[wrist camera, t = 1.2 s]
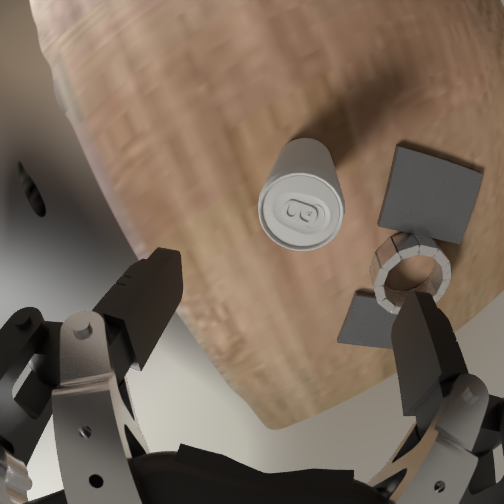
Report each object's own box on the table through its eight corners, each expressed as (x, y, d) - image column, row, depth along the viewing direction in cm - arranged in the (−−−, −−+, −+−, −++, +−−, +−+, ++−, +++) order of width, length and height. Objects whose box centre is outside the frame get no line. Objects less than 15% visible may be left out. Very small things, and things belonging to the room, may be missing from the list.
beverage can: (321, 193, 26) (326, 264, 16) (272, 177, 26) (246, 238, 16) (339, 146, 24) (360, 188, 14) (287, 129, 24) (269, 157, 14)
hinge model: (396, 145, 22) (405, 151, 20) (479, 172, 21) (494, 181, 19) (337, 338, 35) (337, 355, 33) (404, 345, 34) (407, 362, 32)
